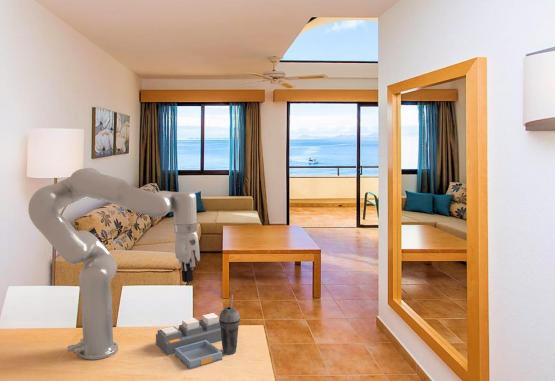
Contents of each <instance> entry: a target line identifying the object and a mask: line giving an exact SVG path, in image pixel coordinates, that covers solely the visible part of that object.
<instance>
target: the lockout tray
mask: <svg viewBox="0 0 555 381" xmlns="http://www.w3.org/2000/svg"><path fill="white" fill-rule="evenodd" d="M174 355H175V357H176V358H177V359H178V360H179V361H181V362H182V363H183V365H184V366H186V368H188V369H189V370H192V369H196V368H199V367H203V366H206V365H210V364H212V363H215V362H219V361H222V360H223V351H221V350H220V349H219V348H217V347H216V346H215V345H213V343H209V342H208V341H207V340H204V341H200V342H196V343H192V344H189V345H185V346H181V347H178V348H175V354H174Z"/></svg>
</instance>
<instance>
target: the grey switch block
mask: <svg viewBox="0 0 555 381" xmlns="http://www.w3.org/2000/svg"><path fill="white" fill-rule="evenodd" d="M219 317H220V315H219V316H218V315H217V314H216V313H214V312H211V313H208V314H203V315H202V319H199V320H198V319H197V318H195V317H190V318H186V319H182V322H181V324H179V325H178V328H177V327H176V326H173V327H174V328H175V329H177V330H178V333H174V334H170V335H166V336H165V335H164V334H163V333H162V332H161V329H158V330H157V333H155V346H156V347H157V348H159V350H161V351H162V352H163V353H164V354H165V355H166V356H171V355H175V348H178V347H181V346H185V345H189V344H192V343H196V342H200V341H204V340H207V341H208V342H209V343H211V344H214V343H218V341H219V342H222V338H221V326H220V323H219Z"/></svg>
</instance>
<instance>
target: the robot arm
mask: <svg viewBox="0 0 555 381" xmlns="http://www.w3.org/2000/svg"><path fill="white" fill-rule="evenodd" d="M85 197H87V198H91V199H94V200H98V201H102V202H106V203H109V204H114V205H117V206H119V207H120V208H124V209H127V210H129V211H132V212H135V213H138V214H141V215H145V216H149V217H153V218H154V217H155V218H163V217H165V216H166V215H167V214H168V213H170V212H173V227H174V228H173V230H174V234H175V237H174V238H175V239H174V251H175V252H174V253H175V258H176V259H177V260H178V263H180V269H181V281H182V282H183V283H188V282H189V283H190V282H192V281H193V276H194V275H193V270H194V268H195V267H197V266H196V262H200V261H201V255H200V242H199V237H198V218H197V213H198V212H197V195H196V193H195V192H194V191H191V190H190V191H188V190H187V191H185V190H184V191H177V192H176V191H170V190H169V191H168V190H160V191H156V192H151V191H148V190H143V189H141V188H138V187H135V186H134V185H132V184H130V183H129V182H128V181H126V180H125V179H122V178H119V177H115V176H112V175H108V174H105V173H101V171H99V170H97V169H96V168H94V167H86V168H80V169H77V170H75V171H74V172H73V173H72V174H71V175H70V176H68V177H67V178H65V179H63V180H60V181H58V182H56V183H53V184H50V185H49V184H48V185H45V186H43V187H39V189H37V190H36V191H35V192H34V193H32V196H31V198H30V200H29V202H28V210H27V211H28V216H29V218H30V221H31V222H32V224H33V226H35V228H36V229H37V230H38V231H39V232H40V233H41V235H43V236H44V238H45V239H46V240H47V241H48V243H49V244H50V245H51V246H52V247H53V248H54V249H55V250H56V252H57V253H58V255H59V256H60V257H61V258H62V259H63V260H64V261H65V262H67V263H68V264H70V265H78V264H80V263H82V264H83V265H84V266H83V267H82V268H81V270H80V272H79V276H78V285H79V290H80V297H81V300H80V301H81V322H82V324H81V326H82V338H80V342H77V343H76V344H70V345H67V352H73V353H74V354H75V353H77V354H78V356H79V357H80V358H81V359H85V360H92V361H93V360H101V359H106V358H109V357H110V356H113V355H114V354H116V353H117V351H118V350H119V344H118V343H117V342H115V341H114V332H113V330H114V329H113V328H114V327H113V326H114V325H113V323H114V321H113V298H112V297H113V296H112V290H111V281H112V279H113V278H114V277H115V275H116V273H117V272H118V263H117V260H116V259H115V258H114V256H113V254H112V253H110V251H109V250H108V249H107V248H106V247H105V245H104V244H103V243H102V242H101V241H100V240H99V239H98V238H97V236H96V235H95V234H93V233H91V232H90V231H88V230H78V231H77V230H76V229H75V227H74V226H73V225H72V224H71V223H70V221H69V220H68V219H67V218H65V217H64V216H63V215H62V214H60V212H59V210H61V209H63V208H66V207H68V206H70V205H72V204H73V203H75V202H77V201H80V200H81V199H83V198H85Z"/></svg>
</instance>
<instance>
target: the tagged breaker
mask: <svg viewBox="0 0 555 381" xmlns="http://www.w3.org/2000/svg"><path fill="white" fill-rule="evenodd" d="M174 327H175V326H170V327H166V328H162V329H160V330H161V332H162V333H163V334H164V335H165V336H166V335H170V334H174V333H178V330H177V329H178V328H177V329H175V328H174Z"/></svg>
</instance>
